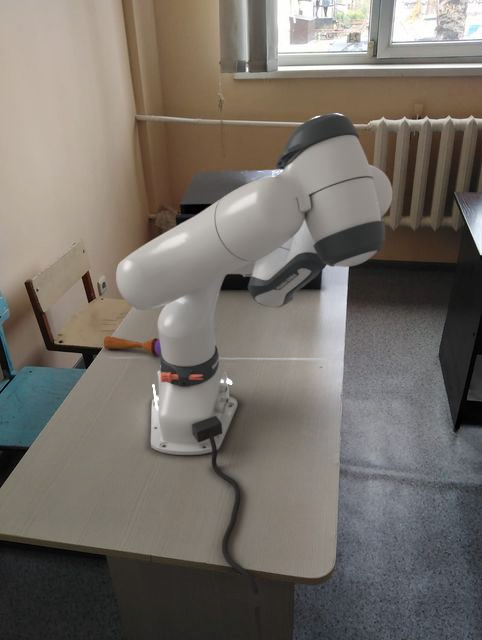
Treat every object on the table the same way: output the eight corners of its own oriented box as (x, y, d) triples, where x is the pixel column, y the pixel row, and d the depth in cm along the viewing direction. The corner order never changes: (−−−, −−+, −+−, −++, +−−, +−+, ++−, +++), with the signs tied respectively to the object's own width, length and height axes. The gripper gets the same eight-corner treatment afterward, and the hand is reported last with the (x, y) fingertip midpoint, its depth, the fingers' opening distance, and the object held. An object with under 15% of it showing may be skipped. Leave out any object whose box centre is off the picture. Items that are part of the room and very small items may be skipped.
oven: (320, 287, 161) (324, 201, 147) (188, 287, 165) (179, 204, 151) (315, 244, 188) (318, 168, 173) (201, 246, 192) (195, 172, 177)
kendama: (112, 327, 140) (182, 332, 133) (115, 349, 142) (184, 355, 135) (99, 335, 134) (171, 341, 128) (102, 357, 137) (173, 364, 130)
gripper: (289, 241, 128) (288, 262, 141) (203, 242, 130) (211, 262, 143) (289, 266, 126) (288, 285, 140) (202, 267, 128) (210, 285, 142)
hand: (248, 273), depth 142 cm, fingers closed
